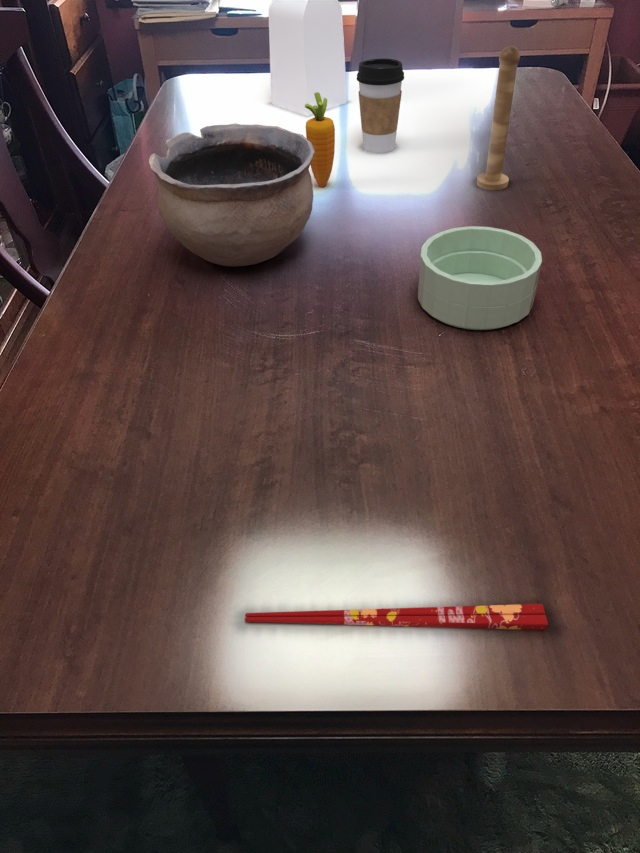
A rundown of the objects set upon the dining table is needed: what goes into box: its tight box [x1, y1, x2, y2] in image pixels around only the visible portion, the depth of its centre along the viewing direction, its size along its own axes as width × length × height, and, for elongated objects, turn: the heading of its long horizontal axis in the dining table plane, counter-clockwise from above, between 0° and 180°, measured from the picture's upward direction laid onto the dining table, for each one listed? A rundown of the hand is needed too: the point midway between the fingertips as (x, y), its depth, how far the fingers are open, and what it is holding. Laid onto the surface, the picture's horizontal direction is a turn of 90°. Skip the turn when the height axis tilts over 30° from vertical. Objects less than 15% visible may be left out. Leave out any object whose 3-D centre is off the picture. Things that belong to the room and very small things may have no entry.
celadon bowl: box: [417, 225, 543, 331], centre depth 87 cm, size 15×15×7 cm
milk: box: [268, 0, 348, 117], centre depth 141 cm, size 12×12×26 cm
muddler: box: [476, 45, 521, 191], centre depth 109 cm, size 5×5×21 cm
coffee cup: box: [356, 57, 405, 154], centre depth 124 cm, size 8×8×15 cm
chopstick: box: [244, 603, 549, 631], centre depth 55 cm, size 2×24×1 cm, turn 89°
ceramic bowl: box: [148, 123, 315, 267], centre depth 97 cm, size 22×22×15 cm
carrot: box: [305, 92, 336, 188], centre depth 112 cm, size 5×5×15 cm
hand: (545, 2), depth 92 cm, fingers open, 8 cm apart
